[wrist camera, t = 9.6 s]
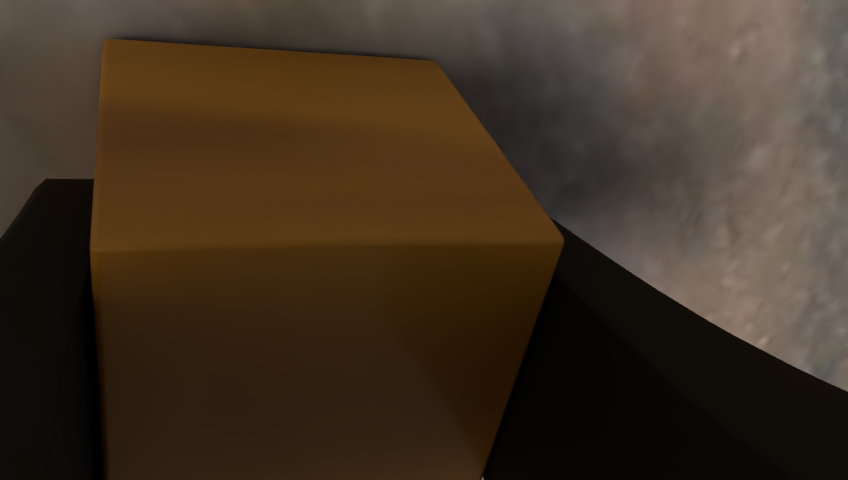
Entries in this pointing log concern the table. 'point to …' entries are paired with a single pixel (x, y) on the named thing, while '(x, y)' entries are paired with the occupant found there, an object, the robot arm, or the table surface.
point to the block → (304, 268)
